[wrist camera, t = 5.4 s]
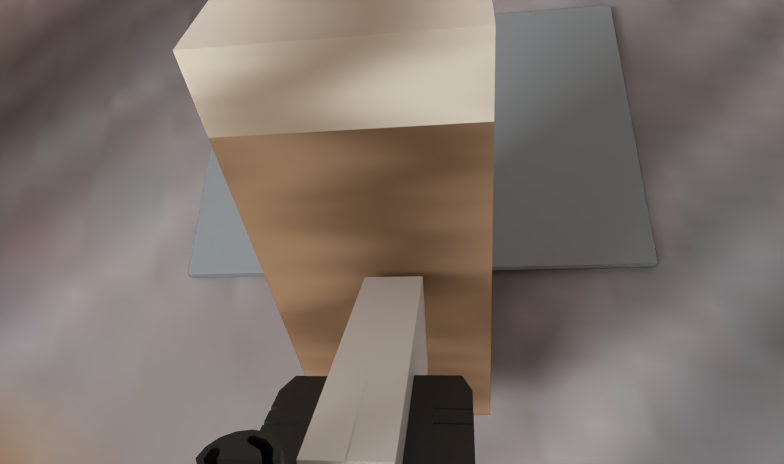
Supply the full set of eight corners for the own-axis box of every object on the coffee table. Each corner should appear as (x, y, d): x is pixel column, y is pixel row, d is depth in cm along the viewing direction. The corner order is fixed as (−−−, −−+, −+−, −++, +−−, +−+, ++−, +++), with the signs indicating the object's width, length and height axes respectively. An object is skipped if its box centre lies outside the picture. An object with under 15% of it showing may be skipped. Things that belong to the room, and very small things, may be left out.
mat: (191, 277, 26) (187, 274, 25) (234, 40, 32) (231, 35, 31) (655, 266, 23) (657, 262, 23) (608, 10, 29) (610, 4, 29)
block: (320, 413, 20) (172, 50, 11) (342, 285, 25) (250, -59, 15) (489, 414, 20) (495, 25, 10) (482, 282, 24) (480, -82, 14)
